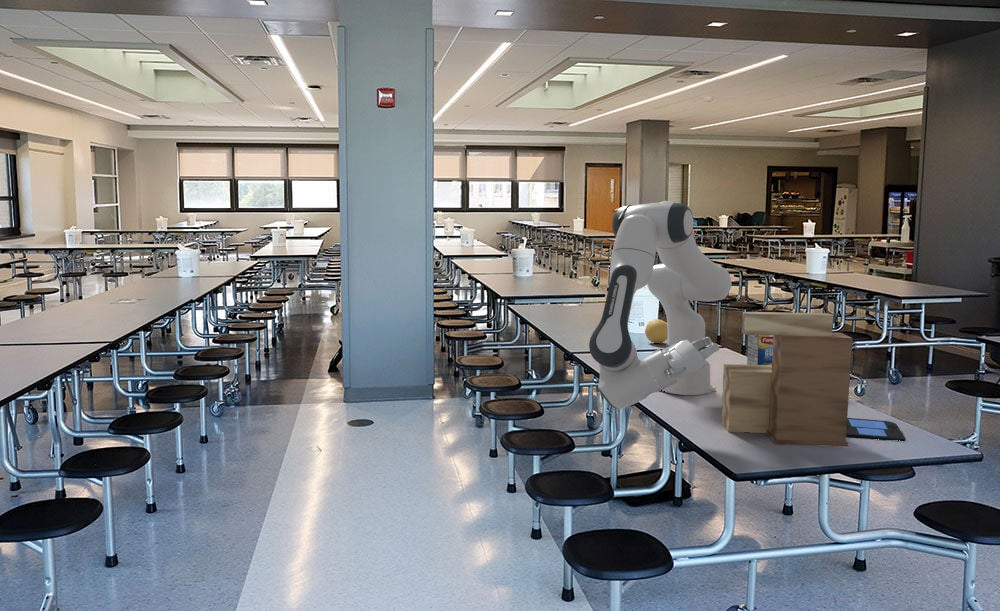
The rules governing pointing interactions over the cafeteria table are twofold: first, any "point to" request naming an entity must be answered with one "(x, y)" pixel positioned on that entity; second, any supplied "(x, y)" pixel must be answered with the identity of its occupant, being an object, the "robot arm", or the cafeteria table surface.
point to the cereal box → (760, 350)
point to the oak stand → (746, 398)
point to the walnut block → (810, 390)
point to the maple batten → (787, 324)
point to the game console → (873, 429)
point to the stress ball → (657, 331)
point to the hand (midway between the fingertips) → (714, 342)
